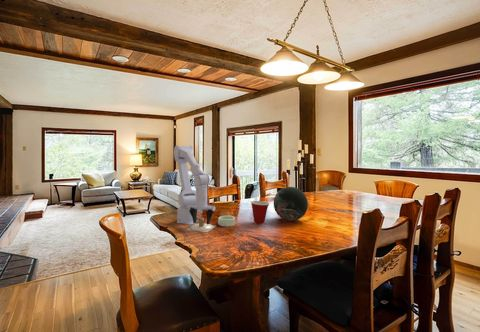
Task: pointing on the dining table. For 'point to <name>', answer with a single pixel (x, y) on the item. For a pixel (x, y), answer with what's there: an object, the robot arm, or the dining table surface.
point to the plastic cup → (259, 211)
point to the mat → (202, 231)
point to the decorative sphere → (290, 203)
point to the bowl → (226, 221)
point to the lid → (201, 226)
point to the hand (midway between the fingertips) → (201, 223)
